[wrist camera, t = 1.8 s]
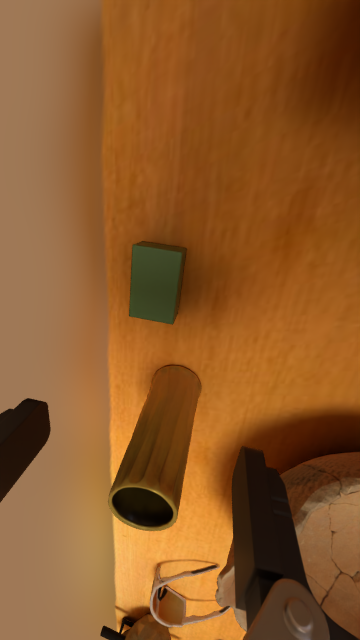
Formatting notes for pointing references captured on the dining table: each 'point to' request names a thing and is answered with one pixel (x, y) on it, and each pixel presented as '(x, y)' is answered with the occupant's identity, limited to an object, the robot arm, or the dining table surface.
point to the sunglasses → (176, 601)
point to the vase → (157, 453)
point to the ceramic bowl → (320, 537)
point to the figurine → (139, 630)
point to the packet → (156, 281)
